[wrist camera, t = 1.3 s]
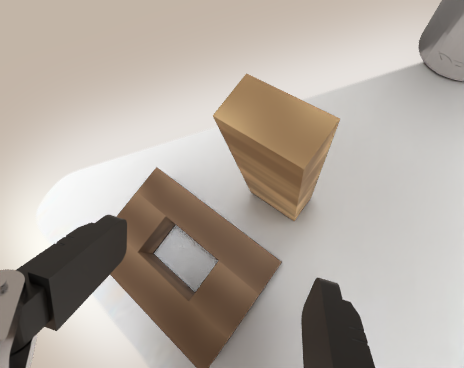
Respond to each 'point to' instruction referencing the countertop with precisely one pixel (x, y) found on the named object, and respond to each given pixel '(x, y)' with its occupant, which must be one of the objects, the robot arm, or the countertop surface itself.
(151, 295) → the base board
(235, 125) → the plank
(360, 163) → the countertop surface
